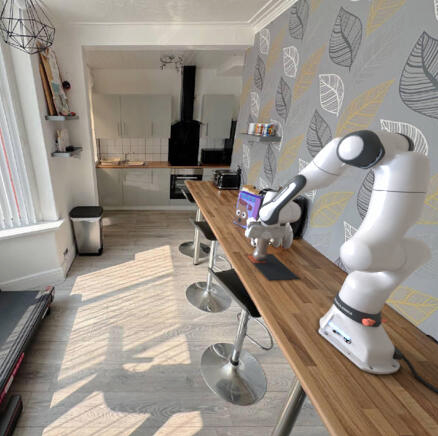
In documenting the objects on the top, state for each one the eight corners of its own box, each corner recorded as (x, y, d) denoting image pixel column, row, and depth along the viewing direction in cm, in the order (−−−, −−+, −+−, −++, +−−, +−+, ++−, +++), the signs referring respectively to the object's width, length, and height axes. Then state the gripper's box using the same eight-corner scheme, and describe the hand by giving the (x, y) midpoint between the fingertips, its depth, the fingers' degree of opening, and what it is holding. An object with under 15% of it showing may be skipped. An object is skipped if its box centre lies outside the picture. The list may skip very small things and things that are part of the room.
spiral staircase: (288, 256, 140) (246, 251, 141) (279, 233, 152) (241, 228, 152) (305, 238, 127) (259, 233, 127) (295, 214, 138) (252, 209, 139)
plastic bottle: (266, 264, 123) (276, 230, 115) (252, 262, 124) (262, 228, 116) (263, 257, 129) (272, 224, 121) (250, 255, 130) (259, 223, 122)
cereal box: (233, 222, 174) (239, 191, 164) (237, 221, 176) (244, 190, 166) (252, 232, 160) (260, 198, 150) (257, 231, 162) (265, 198, 152)
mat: (299, 279, 114) (299, 278, 113) (268, 280, 112) (269, 279, 111) (272, 254, 134) (272, 253, 133) (245, 255, 132) (245, 254, 131)
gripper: (252, 223, 114) (246, 248, 119) (290, 223, 117) (283, 247, 122) (245, 218, 120) (240, 242, 125) (282, 218, 122) (275, 241, 128)
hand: (261, 244), depth 124 cm, fingers open, 8 cm apart
